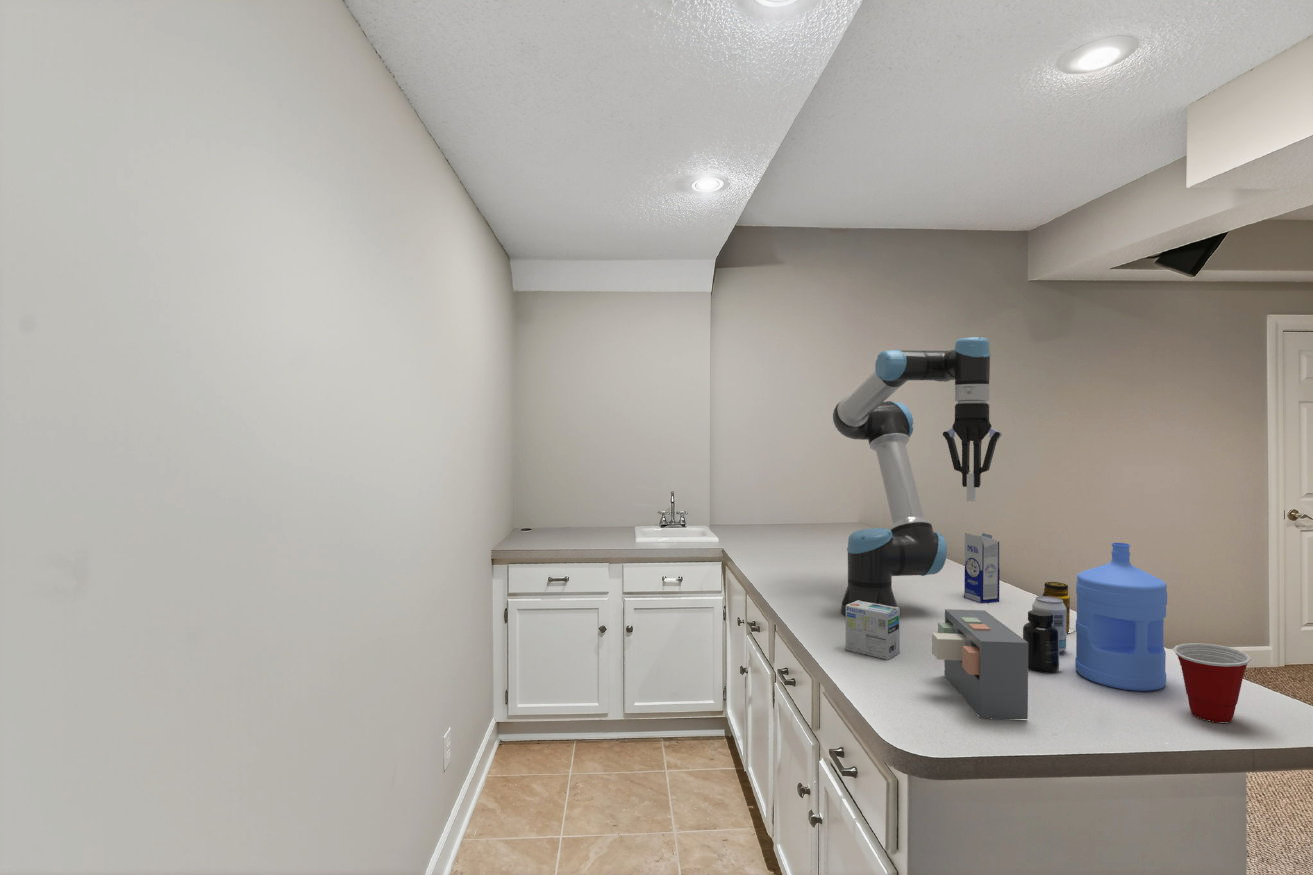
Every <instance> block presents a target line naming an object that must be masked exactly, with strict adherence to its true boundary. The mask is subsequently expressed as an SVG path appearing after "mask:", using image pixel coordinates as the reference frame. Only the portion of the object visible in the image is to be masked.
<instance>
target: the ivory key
mask: <svg viewBox="0 0 1313 875" xmlns="http://www.w3.org/2000/svg"><path fill="white" fill-rule="evenodd" d="M962 646H966V635H965V634H949V633H938V632H931V653H932V655H933V656H934V657H935V658H936V660H939V661H940V660H941V661H945V660H962Z"/></svg>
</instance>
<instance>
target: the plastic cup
mask: <svg viewBox="0 0 1313 875" xmlns="http://www.w3.org/2000/svg"><path fill="white" fill-rule="evenodd" d="M1172 649H1173V651H1174V653H1175V655H1176V656H1177V659H1178V661H1179V664H1180V667H1181V673H1182V676H1183V677H1182V678H1183V682H1184V688H1185V693H1186V695H1187V699H1188V707H1189V710H1190V713H1191V712H1192V713H1191V715H1192V714H1193V715H1192V716H1194V715H1195V716H1196V718H1197V717H1199V718H1198V719H1200V718H1201V719H1200V720H1202V719H1205V720H1204V721H1206V720H1210V721H1214V722H1213V723H1215V722H1230V721H1231V720H1232V721H1233V718H1234V715H1235V712H1236V708H1237V707H1236V706H1237V704H1238V702H1239V697H1240V692H1241V687H1242V684H1243V680H1244V676H1245V672H1246V670H1247V666H1248V664H1249V663H1250V661H1251V660H1252V658H1251V657H1250V656H1249V654H1248V653H1246V652H1244V651H1242V650H1239V649H1236V648H1233V647H1229V646H1226V645H1220V644H1219V645H1218V644H1214V643H1213V644H1212V643H1200V642H1195V643H1194V642H1190V643H1188V642H1187V643H1182V644H1177V645H1175V646H1174V647H1173V648H1172ZM1195 716H1194V717H1195ZM1232 721H1231V722H1232ZM1231 722H1230V723H1231Z"/></svg>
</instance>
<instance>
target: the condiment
mask: <svg viewBox="0 0 1313 875" xmlns="http://www.w3.org/2000/svg"><path fill="white" fill-rule="evenodd" d="M1043 585H1044V588H1043V593H1042V596H1048V597H1055V598H1059V599H1062V600H1063V603H1064V605H1065V607H1066V633H1068V632H1069V629H1070V623H1071V622H1070V619H1071V618H1070V617H1071V616H1070V614H1071V613H1070V608H1071V606H1070V605H1071V601H1070V599H1071V598H1070V595H1069V585H1068V584H1067V583H1064V582H1057V581H1046V582H1044V584H1043ZM1073 630H1074V631H1075V632H1076V629H1073Z"/></svg>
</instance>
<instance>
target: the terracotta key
mask: <svg viewBox="0 0 1313 875" xmlns="http://www.w3.org/2000/svg"><path fill="white" fill-rule="evenodd" d="M962 667H963V668H964V670H965V671H966V672H967V673H968V674H969V675H979V670H980V648H979V647H978V646H962Z"/></svg>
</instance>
